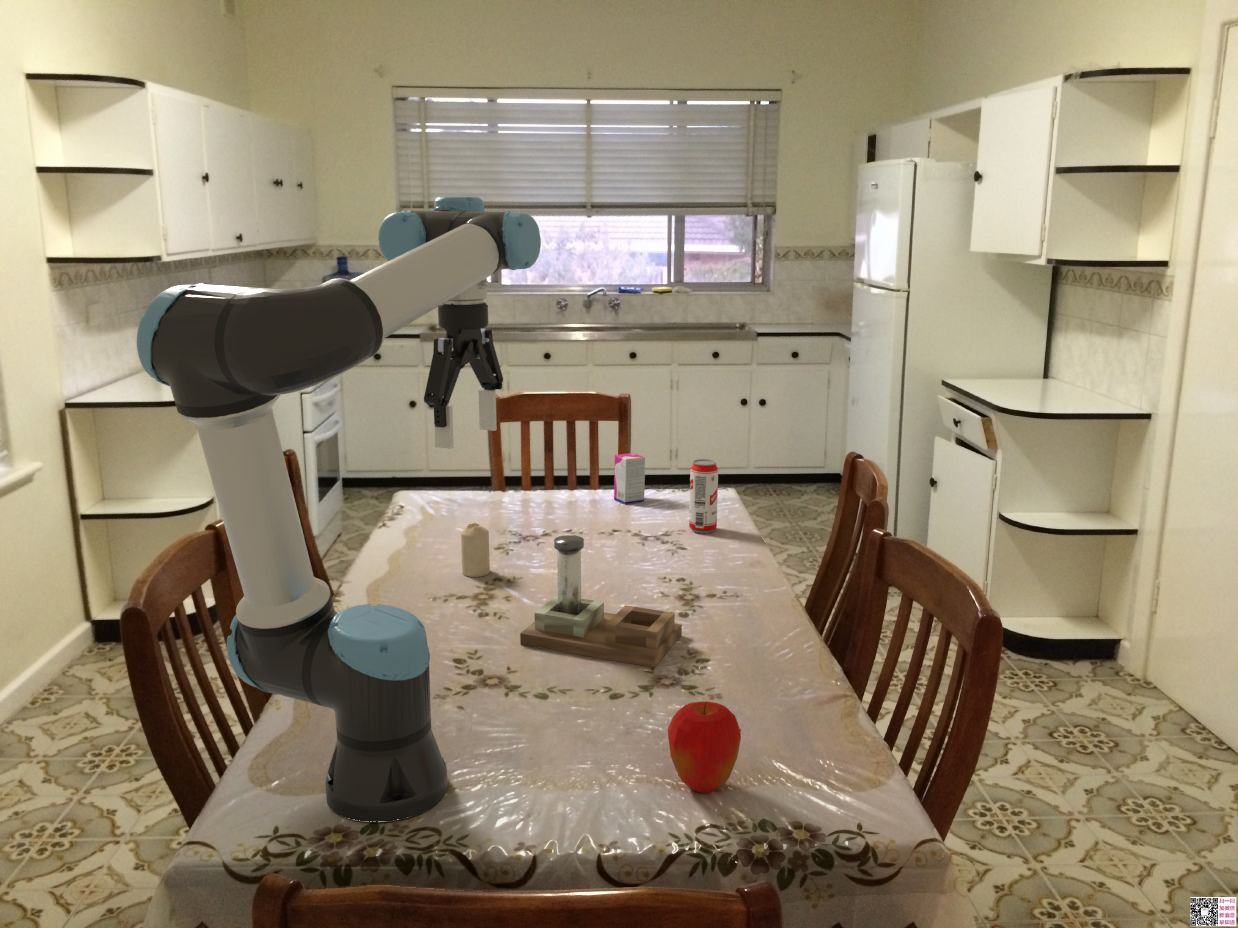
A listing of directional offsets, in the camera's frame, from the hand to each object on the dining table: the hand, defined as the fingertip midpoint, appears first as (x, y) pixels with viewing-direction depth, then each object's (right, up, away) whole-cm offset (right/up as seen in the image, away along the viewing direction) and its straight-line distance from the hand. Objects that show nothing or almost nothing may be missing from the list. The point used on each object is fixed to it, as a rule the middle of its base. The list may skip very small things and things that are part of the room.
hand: (467, 438), depth 166 cm
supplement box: (+26, -13, +99) cm, 103 cm away
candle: (-5, -26, +48) cm, 54 cm away
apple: (+35, -46, -29) cm, 64 cm away
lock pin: (+15, -32, +17) cm, 39 cm away
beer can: (+43, -19, +75) cm, 89 cm away
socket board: (+21, -34, +15) cm, 43 cm away
